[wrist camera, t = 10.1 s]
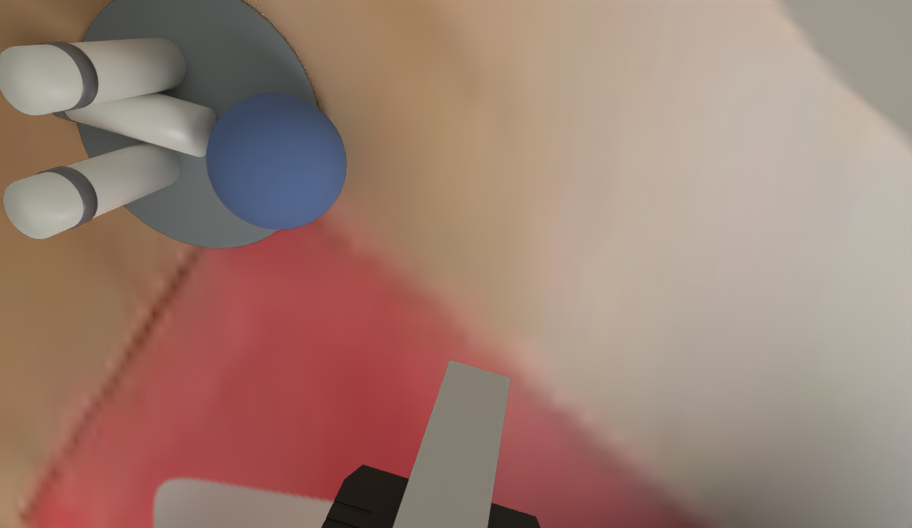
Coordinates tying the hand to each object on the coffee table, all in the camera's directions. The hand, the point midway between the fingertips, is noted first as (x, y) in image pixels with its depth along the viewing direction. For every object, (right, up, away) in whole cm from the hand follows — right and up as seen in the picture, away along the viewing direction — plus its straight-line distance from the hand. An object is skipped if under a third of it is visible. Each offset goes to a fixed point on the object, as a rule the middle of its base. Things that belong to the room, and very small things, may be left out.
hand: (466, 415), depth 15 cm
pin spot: (-13, +11, +16) cm, 23 cm away
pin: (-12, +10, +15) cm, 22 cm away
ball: (-8, +8, +13) cm, 17 cm away
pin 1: (-14, +13, +15) cm, 25 cm away
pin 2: (-15, +9, +17) cm, 25 cm away
